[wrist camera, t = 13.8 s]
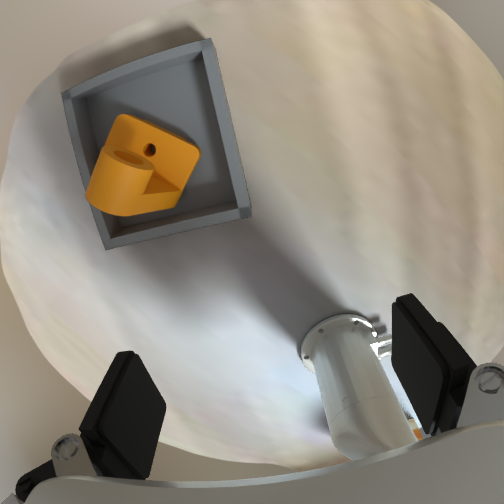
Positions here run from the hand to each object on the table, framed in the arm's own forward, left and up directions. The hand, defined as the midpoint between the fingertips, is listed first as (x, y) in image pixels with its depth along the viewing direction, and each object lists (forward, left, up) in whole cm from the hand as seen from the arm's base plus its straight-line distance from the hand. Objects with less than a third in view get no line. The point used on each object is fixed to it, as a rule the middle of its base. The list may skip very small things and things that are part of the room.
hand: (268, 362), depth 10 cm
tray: (+10, -8, -30) cm, 32 cm away
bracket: (+11, -7, -29) cm, 31 cm away
